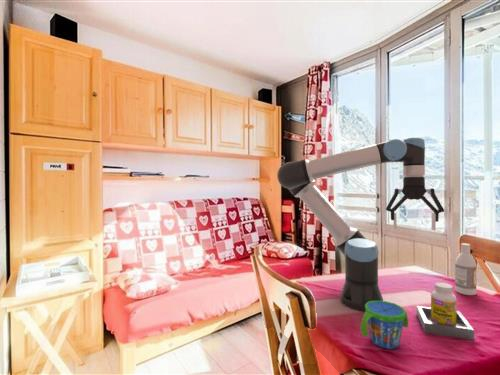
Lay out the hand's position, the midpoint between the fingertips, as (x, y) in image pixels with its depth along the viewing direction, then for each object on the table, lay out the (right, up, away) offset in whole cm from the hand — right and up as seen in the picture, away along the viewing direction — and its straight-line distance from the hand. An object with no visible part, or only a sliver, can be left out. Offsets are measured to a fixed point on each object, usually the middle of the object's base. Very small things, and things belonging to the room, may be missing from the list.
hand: (413, 229), depth 113 cm
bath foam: (+22, -27, +2) cm, 35 cm away
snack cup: (-27, -28, -32) cm, 51 cm away
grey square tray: (-5, -27, -24) cm, 37 cm away
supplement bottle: (-5, -27, -24) cm, 37 cm away
